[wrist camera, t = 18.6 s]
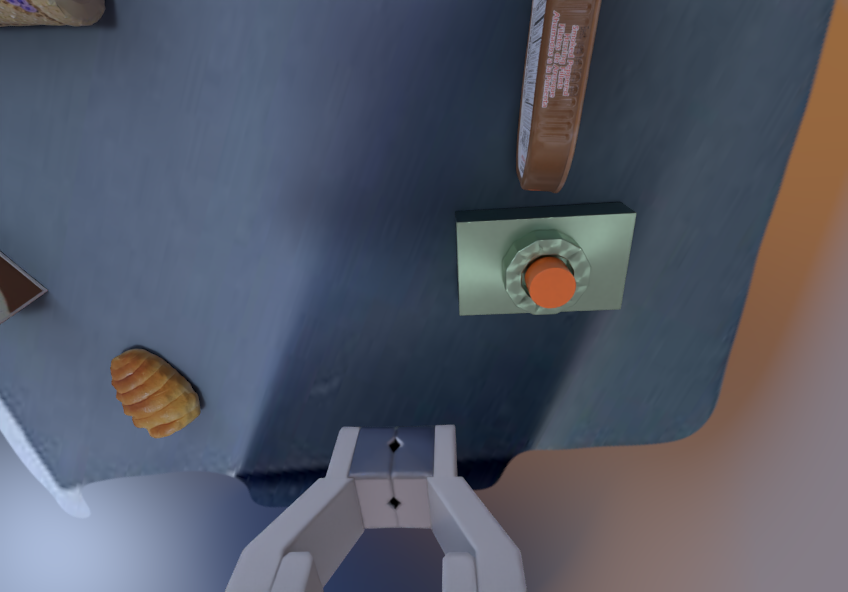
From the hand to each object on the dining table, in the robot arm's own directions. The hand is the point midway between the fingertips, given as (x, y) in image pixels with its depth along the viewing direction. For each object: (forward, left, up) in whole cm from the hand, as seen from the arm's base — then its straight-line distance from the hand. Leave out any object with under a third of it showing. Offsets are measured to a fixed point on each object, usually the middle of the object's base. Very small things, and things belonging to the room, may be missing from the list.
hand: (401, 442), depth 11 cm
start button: (+5, +9, -20) cm, 23 cm away
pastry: (+18, -29, -25) cm, 42 cm away
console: (+5, +8, -25) cm, 27 cm away
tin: (-9, +8, -25) cm, 28 cm away
